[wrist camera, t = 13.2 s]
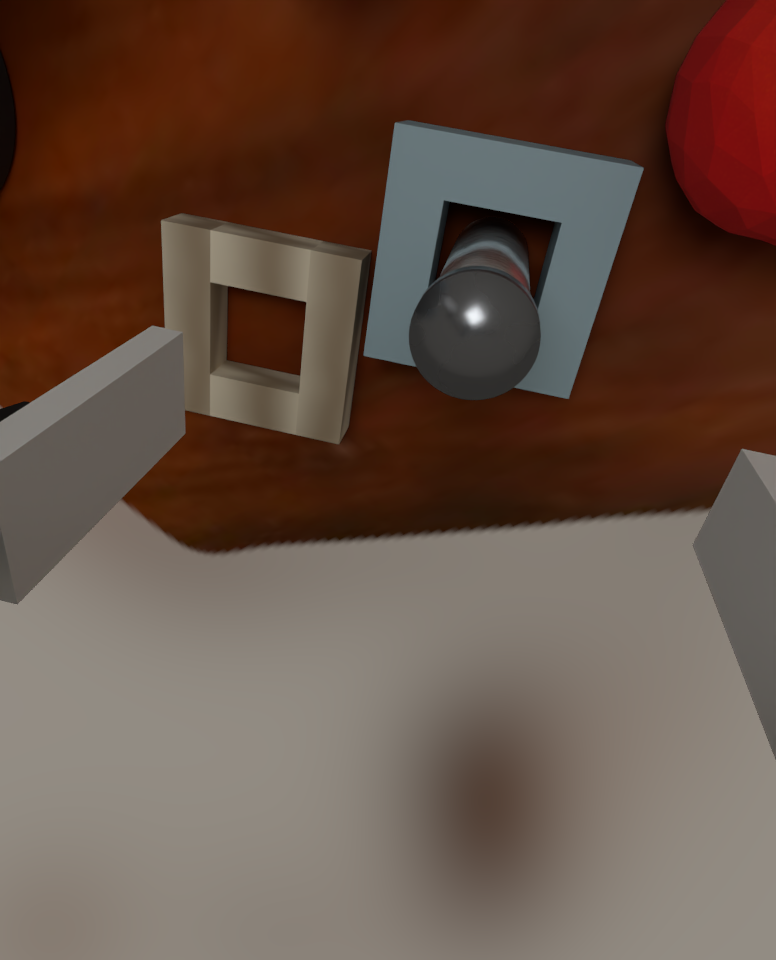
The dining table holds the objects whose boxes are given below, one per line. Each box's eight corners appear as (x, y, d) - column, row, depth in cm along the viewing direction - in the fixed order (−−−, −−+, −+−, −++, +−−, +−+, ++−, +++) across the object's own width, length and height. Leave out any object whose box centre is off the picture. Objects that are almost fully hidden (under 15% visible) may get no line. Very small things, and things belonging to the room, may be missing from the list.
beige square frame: (185, 390, 42) (167, 406, 40) (182, 213, 36) (161, 220, 34) (348, 426, 41) (339, 444, 39) (371, 250, 35) (361, 260, 33)
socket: (377, 332, 38) (363, 355, 34) (408, 120, 32) (395, 122, 28) (564, 371, 37) (568, 398, 33) (630, 160, 31) (643, 167, 28)
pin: (439, 290, 36) (399, 385, 24) (456, 202, 33) (420, 260, 22) (521, 306, 35) (521, 411, 24) (544, 219, 33) (557, 287, 21)
